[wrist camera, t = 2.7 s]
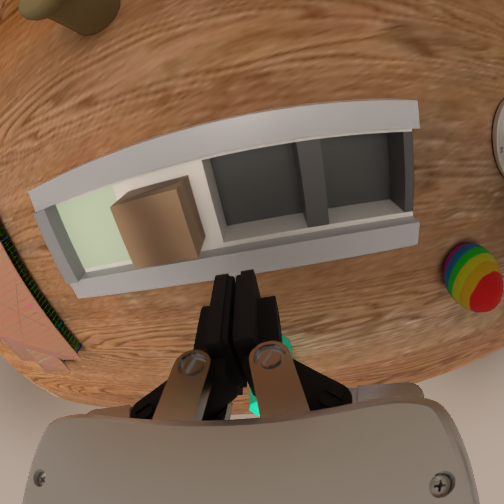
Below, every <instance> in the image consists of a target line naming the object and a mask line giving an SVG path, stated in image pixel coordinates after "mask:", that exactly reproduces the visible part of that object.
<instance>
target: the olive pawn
mask: <svg viewBox="0 0 504 504" xmlns="http://www.w3.org/2000/svg"><path fill="white" fill-rule="evenodd" d="M119 7H120V0H20V1H19V11H20V13H21V15H22V16H23V17H24V18H26V19H28V20H36V21H37V20H42V19H46V18H49V19H51V20H53V21H55V22H57V23H59V24H61V25H63V26H65V27H67V28H69V29H71V30H73V31H75V32H77V33H79V34H82V35H93V34H95V33H98V32H100V31H102V30H103V29H104V28H106V27H107V26H108V25H109V24H110V23H111V22H112V21H113V20H114V18H115V16H116V15H117V13H118V10H119Z"/></svg>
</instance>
